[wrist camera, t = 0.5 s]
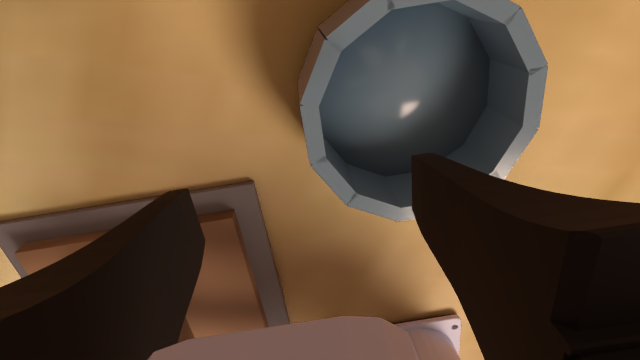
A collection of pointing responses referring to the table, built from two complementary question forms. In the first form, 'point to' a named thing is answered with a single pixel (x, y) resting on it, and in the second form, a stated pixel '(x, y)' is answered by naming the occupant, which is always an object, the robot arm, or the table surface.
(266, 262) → the mat
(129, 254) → the robot arm
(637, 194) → the table surface
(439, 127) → the bowl
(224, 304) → the lid
